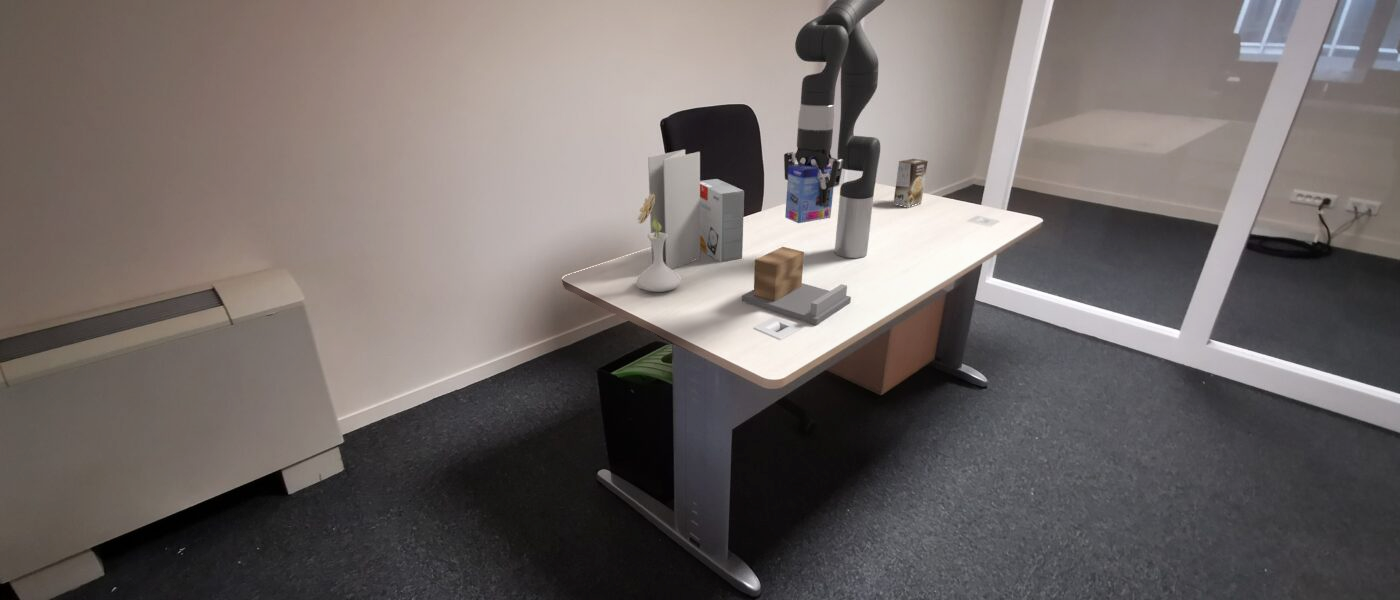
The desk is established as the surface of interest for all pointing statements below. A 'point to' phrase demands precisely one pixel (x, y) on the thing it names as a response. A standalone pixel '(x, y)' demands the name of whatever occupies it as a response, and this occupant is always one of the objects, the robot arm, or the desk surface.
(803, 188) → the ink cartridge box
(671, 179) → the brochure
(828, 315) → the shelf board
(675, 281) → the flower in vase
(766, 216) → the desk surface
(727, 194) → the hard drive box
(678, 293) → the desk surface
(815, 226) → the desk surface
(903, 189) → the coffee box
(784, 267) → the cardboard box
